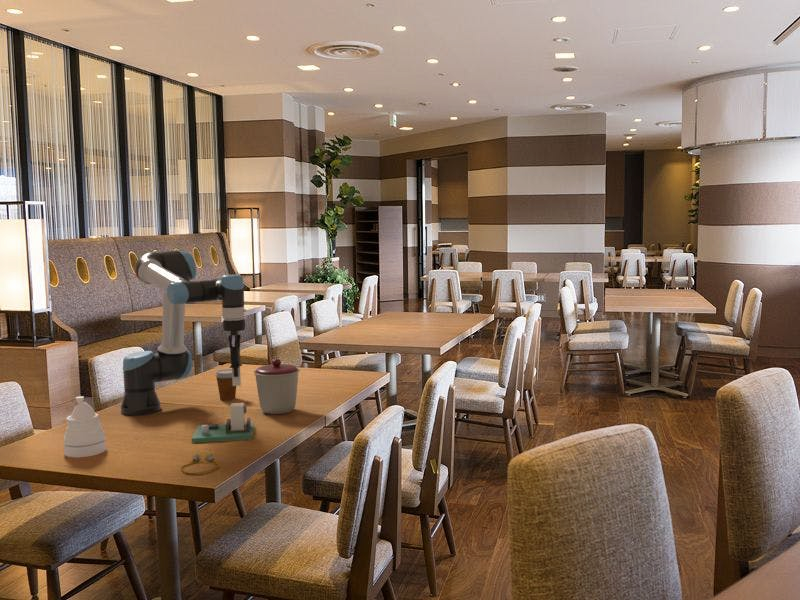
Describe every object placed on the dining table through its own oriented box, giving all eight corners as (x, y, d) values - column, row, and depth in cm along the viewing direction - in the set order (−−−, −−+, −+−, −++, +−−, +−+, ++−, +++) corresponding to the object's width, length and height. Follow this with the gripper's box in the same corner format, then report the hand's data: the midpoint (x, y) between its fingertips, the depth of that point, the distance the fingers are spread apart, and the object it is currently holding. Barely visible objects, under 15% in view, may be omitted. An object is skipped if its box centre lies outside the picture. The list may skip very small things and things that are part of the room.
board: (191, 442, 252) (191, 429, 252) (198, 429, 268) (197, 417, 268) (251, 439, 255) (250, 426, 254) (254, 426, 271) (253, 414, 270)
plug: (231, 431, 259) (230, 406, 258) (232, 427, 264) (231, 403, 263) (246, 430, 260) (245, 405, 259) (247, 427, 265) (246, 402, 264)
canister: (274, 403, 305) (272, 353, 302) (310, 408, 296) (308, 356, 294) (245, 414, 289) (243, 361, 286) (282, 419, 280) (280, 364, 278)
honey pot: (58, 451, 245) (54, 398, 243) (96, 443, 254) (93, 391, 252) (73, 460, 236) (69, 405, 234) (112, 450, 245) (109, 397, 243)
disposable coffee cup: (226, 402, 308) (225, 374, 306) (211, 399, 313) (210, 372, 312) (243, 398, 315) (242, 370, 314) (229, 395, 321) (228, 368, 319)
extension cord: (231, 460, 234) (231, 454, 234) (206, 477, 219) (206, 471, 219) (196, 458, 237) (196, 452, 237) (170, 475, 222) (169, 468, 222)
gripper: (243, 321, 252) (246, 388, 254) (246, 316, 265) (248, 380, 267) (220, 321, 251) (223, 389, 253) (224, 317, 264) (227, 381, 266)
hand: (236, 385), depth 260 cm, fingers closed
